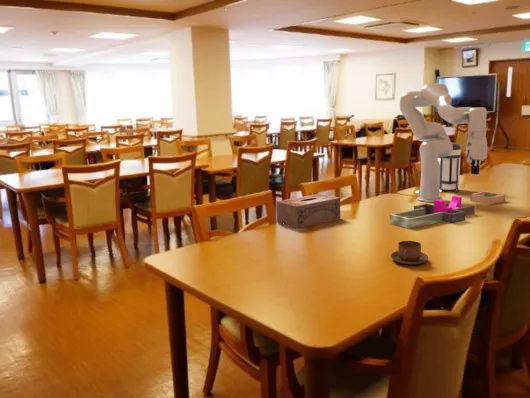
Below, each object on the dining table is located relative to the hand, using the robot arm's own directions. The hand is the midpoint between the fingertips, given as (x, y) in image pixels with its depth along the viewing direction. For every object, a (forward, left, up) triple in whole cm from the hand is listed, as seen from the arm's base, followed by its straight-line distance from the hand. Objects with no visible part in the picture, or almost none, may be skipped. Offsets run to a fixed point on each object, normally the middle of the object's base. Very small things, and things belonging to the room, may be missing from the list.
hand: (474, 174), depth 223 cm
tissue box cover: (-32, -72, -18) cm, 81 cm away
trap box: (0, -27, -17) cm, 32 cm away
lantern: (-38, +30, -18) cm, 52 cm away
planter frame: (-8, +23, -17) cm, 30 cm away
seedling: (-7, +21, -18) cm, 28 cm away
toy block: (-1, -15, -18) cm, 23 cm away
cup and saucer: (+34, -77, -18) cm, 86 cm away
